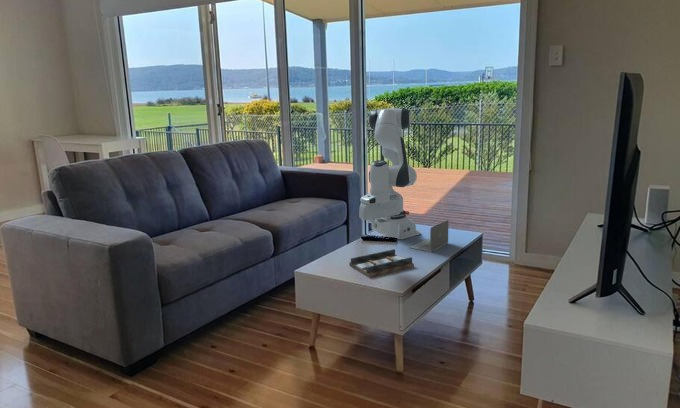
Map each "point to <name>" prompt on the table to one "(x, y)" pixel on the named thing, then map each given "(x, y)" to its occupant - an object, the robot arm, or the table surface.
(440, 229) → the laptop
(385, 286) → the table surface
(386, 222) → the block
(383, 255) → the rail board
